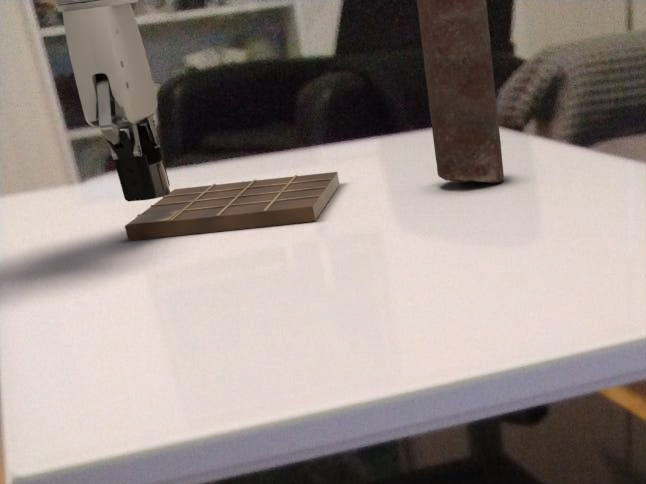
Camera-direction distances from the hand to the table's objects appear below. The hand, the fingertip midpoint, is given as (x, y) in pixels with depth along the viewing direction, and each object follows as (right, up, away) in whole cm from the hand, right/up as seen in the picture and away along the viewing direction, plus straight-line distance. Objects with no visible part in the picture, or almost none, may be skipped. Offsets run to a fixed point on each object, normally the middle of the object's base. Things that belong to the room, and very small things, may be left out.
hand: (147, 192), depth 107 cm
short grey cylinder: (0, 0, 0) cm, 0 cm away
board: (+8, +1, +8) cm, 11 cm away
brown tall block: (+34, +4, +8) cm, 35 cm away
